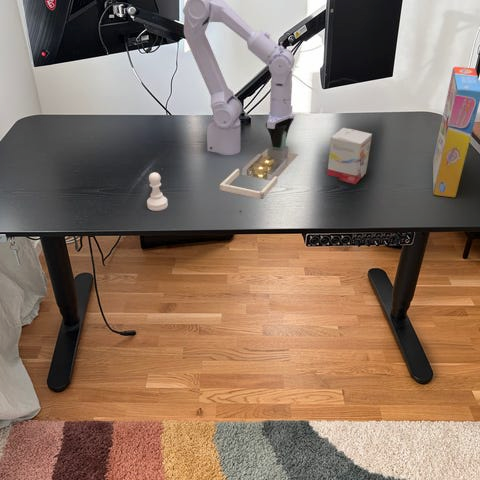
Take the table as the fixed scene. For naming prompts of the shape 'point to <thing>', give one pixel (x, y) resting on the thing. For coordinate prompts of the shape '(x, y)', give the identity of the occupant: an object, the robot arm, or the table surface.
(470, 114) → the game box
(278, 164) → the slotted rail
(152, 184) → the chess pawn
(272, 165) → the gold knob
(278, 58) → the robot arm
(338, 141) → the ink box
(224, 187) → the tray
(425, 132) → the table surface
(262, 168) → the gold round piece
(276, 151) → the teal and gray box
